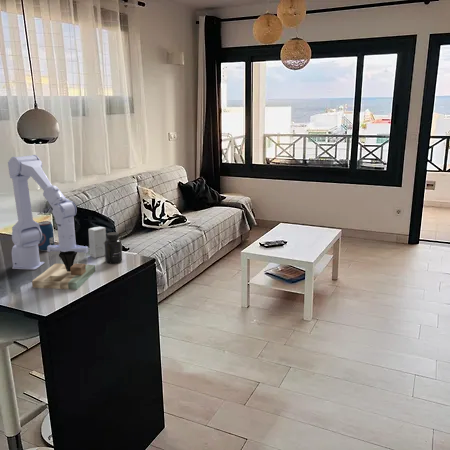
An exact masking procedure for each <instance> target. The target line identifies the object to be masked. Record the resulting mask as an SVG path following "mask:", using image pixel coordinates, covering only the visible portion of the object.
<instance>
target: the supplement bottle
mask: <svg viewBox="0 0 450 450" xmlns="http://www.w3.org/2000/svg"><path fill="white" fill-rule="evenodd" d="M122 243H123V242H122V240H121V239H120V233H119V232H115V231H112V232H108V233H107V232H106V241H105V243H104V245H105V255H104V261H105V263H106V264H108V265H117V264H120V263H122V262H123V245H122Z"/></svg>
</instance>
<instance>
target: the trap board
mask: <svg viewBox="0 0 450 450" xmlns="http://www.w3.org/2000/svg"><path fill="white" fill-rule="evenodd" d="M74 264H75V263H73V265H74ZM85 267H86V272H85V273H84V274H83V275H71V271H70V272H69V271H67V270H66V267H65V265H64V263H54V264H53V265H51V266H50V267H48V268H47V269H46V270H45V271H43V272H42V273H40V274H39V275H38V276H37V277H35V278H34V279H32V281H31V284H32V289H55V290H56V289H57V290H75V291H76V290H78V289H79V288H80V287H82V286H83V284H85V283H86V281H87V280H89V278H90V277H91V276H93V275H94V274H95V273H96V271H97V270H96V265H95V264H85Z"/></svg>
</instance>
